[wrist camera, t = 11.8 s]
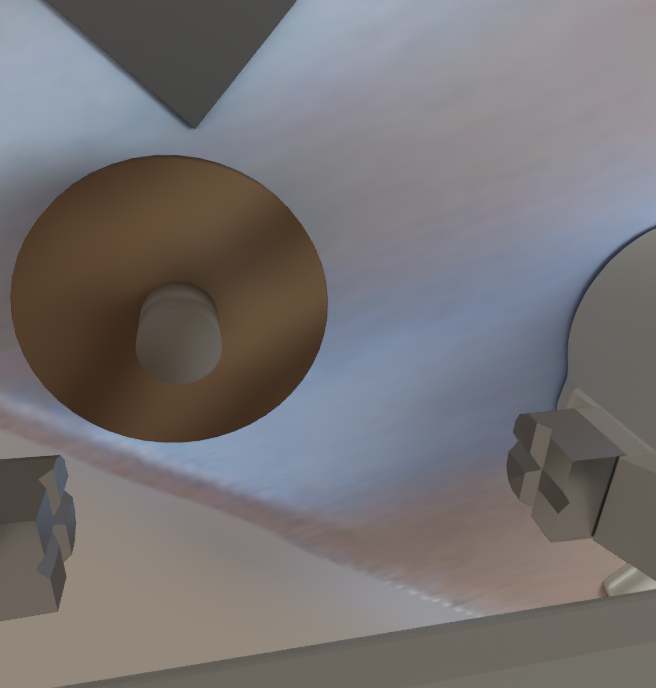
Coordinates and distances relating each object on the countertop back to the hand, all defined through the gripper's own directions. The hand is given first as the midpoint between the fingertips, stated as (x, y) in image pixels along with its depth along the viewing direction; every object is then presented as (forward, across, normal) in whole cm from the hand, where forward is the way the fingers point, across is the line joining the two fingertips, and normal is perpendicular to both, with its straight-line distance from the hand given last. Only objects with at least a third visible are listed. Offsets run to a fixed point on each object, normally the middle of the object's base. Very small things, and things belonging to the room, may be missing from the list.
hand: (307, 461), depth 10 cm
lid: (+16, +3, +4) cm, 17 cm away
